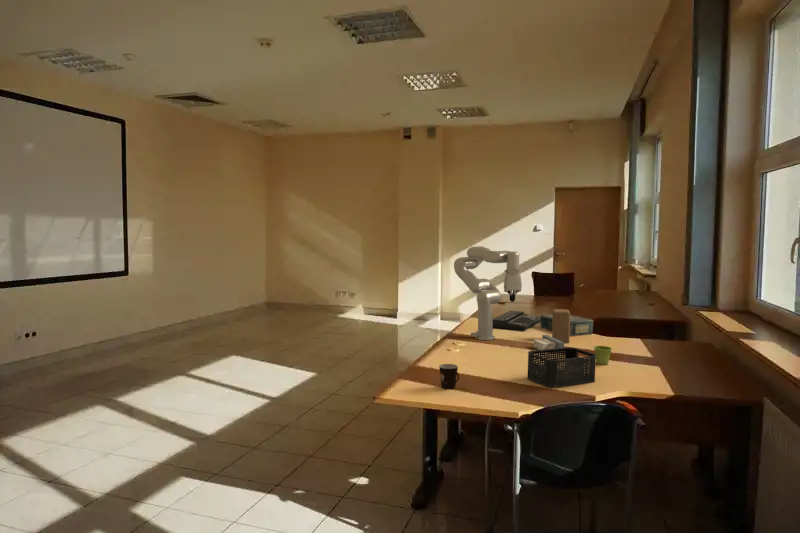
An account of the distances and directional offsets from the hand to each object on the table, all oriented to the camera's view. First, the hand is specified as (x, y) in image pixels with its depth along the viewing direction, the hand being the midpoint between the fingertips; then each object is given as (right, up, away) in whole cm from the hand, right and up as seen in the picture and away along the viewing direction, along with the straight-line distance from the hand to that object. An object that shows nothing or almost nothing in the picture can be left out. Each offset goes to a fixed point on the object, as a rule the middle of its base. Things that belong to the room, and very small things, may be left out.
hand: (512, 301), depth 335 cm
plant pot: (+40, -31, -43) cm, 66 cm away
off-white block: (+17, -28, -10) cm, 34 cm away
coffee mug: (-47, -35, -85) cm, 103 cm away
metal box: (+46, -24, +43) cm, 68 cm away
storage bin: (+9, -34, -72) cm, 80 cm away
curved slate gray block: (+23, -28, -8) cm, 37 cm away
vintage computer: (+16, -22, +66) cm, 72 cm away
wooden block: (+33, -26, +11) cm, 44 cm away
